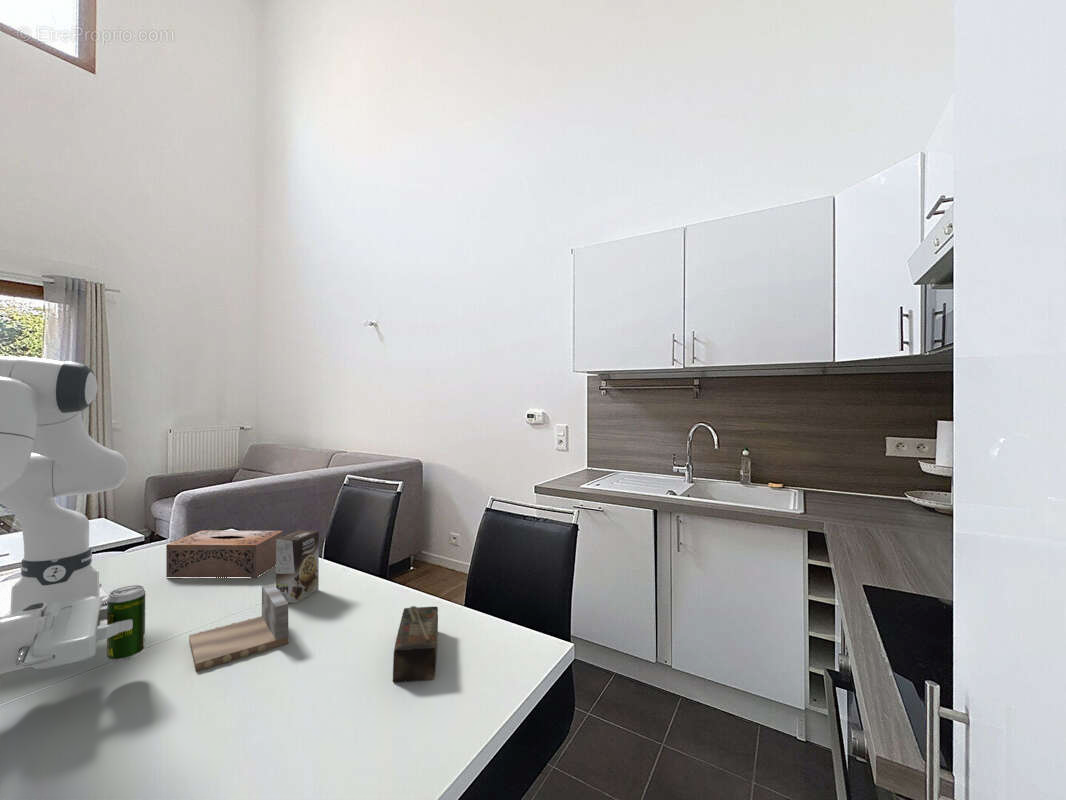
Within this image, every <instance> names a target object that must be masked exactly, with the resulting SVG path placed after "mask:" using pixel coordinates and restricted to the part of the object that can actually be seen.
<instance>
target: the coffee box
mask: <svg viewBox="0 0 1066 800" xmlns="http://www.w3.org/2000/svg"><path fill="white" fill-rule="evenodd" d="M319 548H320V531H319V530H301V529H299V530H297V531H294V532H292V533H289V534H286V535H283V537H281V538H278V539H276V566H275V586H276V588H277V589H278V590H279V592H280V593H281V594H282V596H283V597H284V598H285V600H286V601H287V602H288V604H289V603H290V604H298V603H299V602H301V601H303V600H304V599H305V597H306V598H307V597H309V596H310V594H311V595H312V594H314V593H316V592H317V591H319V578H320V577H319V576H320V575H319V572H320V571H319V569H320V568H319V567H320V566H319V565H320V564H319V563H320V561H319V559H320V557H319V556H320V555H319V554H320V553H319V552H320V551H319V550H320V549H319ZM315 591H316V592H315ZM313 592H314V593H313ZM308 595H309V596H308Z"/></svg>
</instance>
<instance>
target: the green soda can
mask: <svg viewBox="0 0 1066 800" xmlns="http://www.w3.org/2000/svg"><path fill="white" fill-rule="evenodd" d="M108 596H109V597H108V599H107V603H106V604H107V605H106V606H107V620H106V625H109V624H112V623H115V622H118V621H120V619H124V618H129V617H131V618H132V619H133V628H132V629H131V630H128V631H124V632H120V633H118V634H116V635H114V636H112V637H109V638H107V639H106V658H107V659H108V660H109V662H111V663H122V662H125V661H129V660H132V659H134V658H137V657H138V656H140V655H141V654H143V653H144V650H145V648H146V590H145V587H144V586H143V585H140V584H139V585H138V584H134V585H128V586H123V587H122V586H121V587H119V588H115V589H114V590H112V591H110V592H109V593H108Z"/></svg>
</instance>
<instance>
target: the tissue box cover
mask: <svg viewBox="0 0 1066 800" xmlns="http://www.w3.org/2000/svg"><path fill="white" fill-rule="evenodd" d="M283 531H284V530H200V531H197V532H195V533H192V534H190V535H187V536H184V537H182V538H179V539H177V540H175V541H173V542H169V543H168V544H166V549H165V550H166V553H165V554H166V558H165V559H166V561H165V562H166V566H165V567H166V569H165V570H166V574H165V576H166V577H216V578H217V577H218V578H219V577H220V578H221V577H222V578H223V577H224V578H225V577H226V578H227V577H251V578H257V577H258V576H259V575H261V574H263V573H264V572H266V571H267V570H269V569H270V570H272V569H273V568H275V567H276V566H275V565H276V539H278V538H281V537H283V536H284V535H283V533H284V532H283ZM274 566H275V567H274ZM272 567H273V568H272ZM271 568H272V569H271ZM270 570H269V571H270ZM267 572H268V571H267ZM267 572H266V573H267ZM264 574H265V573H264ZM264 574H263V575H264ZM261 576H262V575H261ZM258 578H259V577H258ZM258 578H257V579H258Z"/></svg>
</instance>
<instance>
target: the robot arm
mask: <svg viewBox="0 0 1066 800" xmlns="http://www.w3.org/2000/svg"><path fill="white" fill-rule="evenodd" d="M97 393H98V382H97V378H96V376H95V372H94V370H93V369H91V368H90V367H89V366H88V365H86V364H83V363H80V362H76V361H71V360H65V361H61V360H56V359H49V358H41V357H33V356H9V355H8V356H6V355H5V356H3V355H0V504H1V505H2V506H4V507H6V508H7V510H9V511H10V512H11V513H12V514H13V515H14V516H15V517H16V519H17V521H18V522H19V524H20V527H21V532H22V537H23V539H22V540H23V558H22V559H21V564H20V575H21V576H22V577H21V578H20V579H19V580H18V581H17V582H15V583H14V585H12V587H11V593H10V611H8V612H7V613H6V614H5V615H4V616H0V675H3V674H6V673H10V672H14V671H18V670H22V669H27V668H30V667H32V668H33V669H37V670H38V669H39V670H40V669H48V668H54V667H58V666H63V665H69V664H72V663H77V662H81V661H85V660H88V659H90V658H92V657H94V656H95V655H96V652H97V647H98V642H100V641H104V640H107V638H109V637H112V636H114V635H116V634H118V633H120V632H124V631H128V630H131V629H132V628H133V619H132V618H131V617H129V618H124V619H120V621H118V622H115V623H112V624H109V625H107V623H106V624H101V621H107V605H105V604H104V603H106V602H107V599H108V597H109V594H107V592H106V591H105V590H104V589H103V588H102V584H101V582H100V571H99V570H97V568H95V567H93V566H92V561H93V553H92V548H90V521H89V518H88V517H87V516H86V515H85V514H83V513H81V512H80V511H76V510H73V509H69V508H66V507H62V506H61V505H59V504H58V503H57V501H56V499H55V498H58V497H68V496H69V497H70V496H71V497H72V496H81V495H83V496H84V495H93V494H98V493H101V492H103V493H104V492H107V491H111V490H115V489H118V488H119V487H120V486H121V485H122V484H123V483H124V482H125V481H126V479H127V478H128V477H127V476H128V475H129V463H128V461H127V459H126V458H125V456H124V455H123V454H121V453H120V452H119V451H117V450H113V449H111V448H108V447H105V446H103V445H102V444H100V443H98V442H97V441H96V440H94V438H92V437H91V436H90V435H89V434H88V432H87V429H86V427H85V425H84V420H83V416H82V411H84V410H85V409H88V408H89V407H90V406H91V405H92V404H93V401H94V399H95V398H96V396H97ZM102 604H103V605H102ZM106 604H107V603H106Z"/></svg>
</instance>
